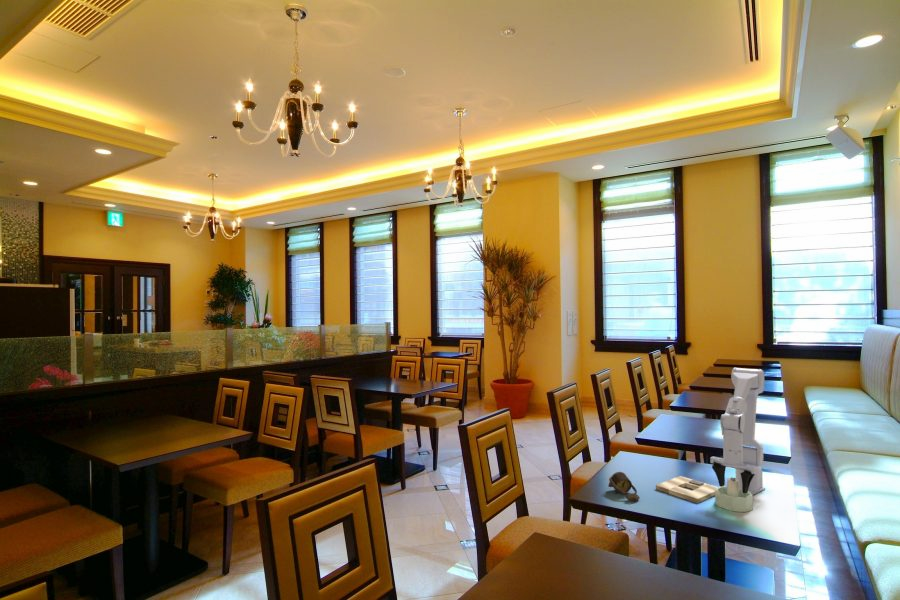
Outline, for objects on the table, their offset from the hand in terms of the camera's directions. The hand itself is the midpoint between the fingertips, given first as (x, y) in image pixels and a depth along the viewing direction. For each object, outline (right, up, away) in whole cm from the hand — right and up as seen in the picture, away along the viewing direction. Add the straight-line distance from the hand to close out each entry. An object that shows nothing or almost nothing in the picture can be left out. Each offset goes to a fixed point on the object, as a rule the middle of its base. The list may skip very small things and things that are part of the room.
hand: (733, 489), depth 172 cm
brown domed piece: (-34, -6, +10) cm, 36 cm away
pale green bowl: (0, -5, 0) cm, 5 cm away
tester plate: (-9, -6, +13) cm, 17 cm away
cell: (0, -5, 0) cm, 5 cm away
